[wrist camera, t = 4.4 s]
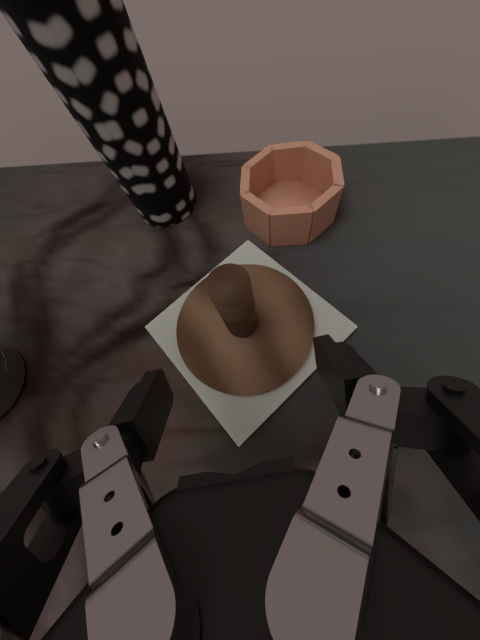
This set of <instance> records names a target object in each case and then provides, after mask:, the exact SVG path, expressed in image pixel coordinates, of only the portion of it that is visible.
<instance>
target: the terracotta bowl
mask: <svg viewBox="0 0 480 640" xmlns="http://www.w3.org/2000/svg"><path fill="white" fill-rule="evenodd" d="M343 188H344V179H343V173H342V166H341V159H340V157H339V155H337V154H335V153H333V152H331V151H329V150H327V149H325V148H323V147H321V146H319V145H317V144H315V143H313V142H310V141H308V142H307V141H299V142H290V143H282V144H273V145H270V146H267V147H266V148H265V149H263V150H262V151H261V152H260V153H258V154H257V155H256V156H254V157H253V158H252V159H250V160H249V161H248V162H247V163H245V164H244V165H243V167H242V169H241V185H240V198H241V204H242V210H243V216H244V222H245V227H246V229H248V230H249V231H250V232H252V233H253V234H254V235H256V236H257V237H258V238H260V239H261V240H262V241H263V242H265V243H266V244H267V245H269V246H270V245H271V247H273V246H292V245H307V243H308V244H310V243H311V242H312V241H313V240H314V239H315V238H316V237H317V236H319V235H320V234H321V233H322V232H323V231H324V230H325V229H326V228H327V227H329V226H330V225H331V224H332V223H333V221H334V218H335V215H336V212H337V208H338V205H339V202H340V198H341V195H342V191H343Z"/></svg>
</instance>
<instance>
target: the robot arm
mask: <svg viewBox="0 0 480 640" xmlns="http://www.w3.org/2000/svg"><path fill="white" fill-rule="evenodd" d="M313 344H314V352H315V361H316V367H317V370H318V373H319V375H320V377H321V379H322V381H323V383H324V384H325V386H326V388H327V390H328V392H329V394H330V395H331V397H332V399H333V401H334V403H335V405H336V406H337V408H338V410H339V412H340V414H341V415H339V417H338V419H337V421H336V423H335V426H334V428H333V431H332V433H331V436H330V438H329V441H328V443H327V446H326V448H325V451H324V453H323V456H322V458H321V461H320V463H319V466H318V468H317V471H316V472H315V471H312V470H309V469H306V468H301V467H294V464H293V460H292V457H288V458H283V459H277V460H271V461H266V462H262V463H260V464H258V465H255V466H253V467H251V468H249V469H246V470H244V471H242V472H240V473H237V474H223V473H213V472H203V473H197V474H192V475H186V476H180V477H179V481H178V486H177V488H175V489H174V490H172V491H170V492H168V493H167V494H166V495H164V496H163V497H161V498H160V499H159V500H158V501H157V502H156V501H155V499H154V497H153V494H152V492H151V490H150V487H149V485H148V483H147V480H146V478H145V476H144V473H143V471H142V470H141V466H142V463H143V462H148V461H153V460H154V458H155V455H156V452H157V449H158V446H159V443H160V440H161V437H162V434H163V431H164V428H165V425H166V422H167V419H168V416H169V413H170V410H171V407H172V404H173V393H172V390H171V388H170V386H169V383H168V381H167V379H166V376H165V374H164V372H163V370H162V369H157V370H152V371H147V372H146V373H145V374H144V376H143V378H142V379H141V381H140V383H137V384H136V385H135V386H134V387H133V388H132V389H131V390H130V391H129V393H128V394H127V396H126V398H125V399H124V401H123V402H122V406H120V407H119V409H118V411H117V412H116V414H115V415H114V417H113V419H112V420H111V422H110V424H109V425H108V426H106V427H103V428H101V429H99V430H97V431H96V432H94V433H93V434H91V435H90V436H89V437H88V438H87V439H86V440H85V442H84V443H83V445H82V447H81V449H80V450H77V451H75V452H73V453H70V454H68V455H66V456H64V457H63V455H62V454H61V453H60V451H59V450H58V449H50V450H47V451H45V452H43V453H41V454H39V455H37V456H36V457H34V458H33V459H32V460H30V461H29V462H28V463H27V464H26V465H25V466H24V467H23V468H22V469H21V470H20V472H19V473H18V474H17V475H16V477H15V478H14V479H13V480H12V481H11V483H10V484H9V485H8V486H7V488H6V489H5V490H4V491H3V493H2V494H1V495H0V640H29V638H30V636H31V634H32V632H33V630H34V627H35V625H36V623H37V621H38V619H39V616H40V614H41V612H42V610H43V608H44V606H45V603H46V601H47V599H48V597H49V595H50V593H51V590H52V588H53V586H54V584H55V582H56V579H57V577H58V575H59V573H60V571H61V569H62V566H63V564H64V562H65V560H66V558H67V555H68V553H69V551H70V549H71V547H72V545H73V542H74V540H75V538H76V536H77V534H78V532H79V529H80V527H81V525H82V524H83V533H84V542H85V551H86V560H87V569H88V578H89V582H88V583H87V584H86V586H85V587H84V588H83V589H82V590H81V592H80V593H79V594H78V595H77V597H76V598H75V599H74V600H73V601H72V603H71V604H70V605H69V606H68V607H67V609H66V610H65V611H64V612H63V613H62V615H61V616H60V617H59V618H58V619H57V621H56V622H55V623H54V624H53V626H52V627H51V628H50V629H49V630H48V632H47V633H46V634H45V635H44V636H43V638H42V639H41V640H480V601H479V600H478V599H476V598H475V597H474V596H473V595H472V594H470V593H469V592H468V591H467V590H465V589H464V588H463V587H462V586H460V585H459V584H458V583H457V582H455V581H454V580H453V579H452V578H451V577H449V576H448V575H447V574H446V573H444V572H443V571H442V570H441V569H439V568H438V567H437V566H436V565H435V564H433V563H432V562H431V561H430V560H428V559H427V558H426V557H425V556H423V555H422V554H421V553H420V552H418V551H417V550H416V549H415V548H414V547H412V546H411V545H410V544H409V543H407V542H406V541H405V540H404V539H402V538H401V537H400V536H399V535H397V534H396V533H395V532H394V531H393V530H391V529H390V528H389V527H388V524H389V516H390V507H391V495H392V486H393V479H394V472H395V465H396V458H397V451H398V447H406V448H414V449H423V450H426V451H427V452H428V454H429V455H430V456H431V458H432V459H433V460H434V462H435V463H436V464H437V466H438V467H439V468H440V470H441V471H442V472H443V474H444V475H445V476H446V478H447V479H448V480H449V482H450V483H451V484H452V486H453V487H454V488H455V490H456V491H457V492H458V494H459V495H460V496H461V498H462V499H463V500H464V502H465V503H466V504H467V506H468V507H469V508H470V510H471V511H472V512H473V513H474V515H475V516H476V517H477V519H478V520H479V521H480V388H479V387H477V386H476V385H475V384H473V383H471V382H469V381H467V380H464V379H461V378H458V377H453V376H437V377H433V378H431V379H430V380H429V381H428V382H427V388H412V387H401V386H399V384H398V383H397V382H396V381H394V380H393V379H391V378H389V377H386V376H382V375H378V374H377V373H376V372H375V371H374V370H373V369H372V368H371V367H370V366H369V365H368V364H367V363H366V361H365V360H364V359H363V358H361V356H360V355H359V354H358V353H357V352H356V351H355V350H354V349H353V347H352V346H350V345H348V344H346V343H344V342H342V341H341V342H335V341H334V340H333V339H332V337H331V336H330V335H329V334H326V335H322V336H317V337H313ZM24 378H25V365H24V362H23V359H22V357H21V356H20V354H19V353H17V352H16V351H15V350H12V349H10V348H6V347H2V346H0V418H1V417H2V416H3V415H4V414H5V413H6V412H7V411H8V410H9V409H10V408H11V407H12V405H13V404H14V402H15V401H16V399H17V397H18V395H19V393H20V391H21V389H22V386H23V383H24ZM40 507H41V508H42V510H43V511H44V512H45V513H46V514H47V515H46V517H45V519H44V520H43V522H42V524H41V525H40V527H39V529H38V530H37V532H36V534H35V535H34V537H33V539H32V540H31V542H30V544H29V546H28V547H27V548H26V547H25V545H24V541H23V539H24V534H25V531H26V529H27V527H28V525H29V524H30V522H31V521H32V519H33V517H34V516H35V514H36V513H37V511H38V510H39V508H40Z"/></svg>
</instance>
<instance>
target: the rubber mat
mask: <svg viewBox="0 0 480 640" xmlns="http://www.w3.org/2000/svg"><path fill="white" fill-rule="evenodd" d="M227 263H233V264H238V265H241V264H256V265H263V266H267V267H270V268H273V269H276V270H278V271H280V272H282V273H284V274H285V275H287V276H288V277H290V278H291V279H292V280H293V281H294V282H296V283H297V284H298V286H299V287H300V288H301V289H302V290H303V292H304V293H305V295H306V296H307V298H308V300H309V303H310V305H311V308H312V311H313V316H314V337H317V336H322V335H326V334H329V335H330V336H331V337H332V339H333V340H334V341H335V342H341V341H342V342H343V341H344V340H345V339H346V338H347V337H348V336H349V335H350V334H351V333H352V332H353V331H354V330H355V329H356V328H357V327H358V326H357V325H355V324H354V323H353V322H352V321H350V320H349V319H348V318H347V317H345V316H344V315H343V314H341V313H340V312H339V311H338V310H336V309H335V308H334V307H333V306H331V305H330V304H329V303H328V302H326V301H325V300H324V299H322V298H321V297H320V296H319V295H317V294H316V293H315V292H314V291H312V290H311V289H310V288H308V287H307V286H306V285H305V284H303V283H302V282H301V281H300V280H298V279H297V278H296V277H295V276H293V275H292V274H291V273H289V272H288V271H287V270H286V269H284V268H283V267H282V266H281V265H279V264H278V263H277V262H276V261H274V260H273V259H272V258H270V257H269V256H268V255H267V254H265V253H264V252H263V251H262V250H260V249H259V248H258V247H256V246H255V245H254V244H253V243H251V242H250V241H249V240H247V241H246V242H245V243H244V244H243V245H241V246H240V247H239V248H238V249H237V250H235V251H234V252H233V253H232V254H231V255H229V256H228V257H227V258H226V259H225V260H224V261H222V262H221V263H220V264H219V265H218V266H220V265H223V264H227ZM218 266H216V267H218ZM216 267H215V268H216ZM215 268H214V269H215ZM210 272H211V271H210ZM210 272H209V273H208V274H207V275H206V276H205V277H203V278H202V279H201V280H200V281H199V282H197V283H196V284H195V285H194V286H193V287H191V288H190V289H189V290H188V291H187V292H186V293H184V294H183V295H182V296H181V297H180V298H178V299H177V300H176V301H175V302H174V303H172V304H171V305H170V306H169V307H168V308H167V309H165V310H164V311H163V312H162V313H161V314H159V315H158V316H157V317H156V318H155V319H153V320H152V321H151V322H150V323H149V324H148V325H146V326H145V328H146V329H147V331H148V332H149V333H150V334H151V336H152V337H153V338H154V339H155V341H156V342H157V343H158V345H159V346H160V347H161V348H162V350H163V351H164V352H165V354H166V355H167V356H168V357H169V359H170V360H171V361H172V362H173V364H174V365H175V366H176V368H177V369H178V370H179V371H180V373H181V374H182V375H183V377H184V378H185V379H186V380H187V382H188V383H189V384H190V385H191V387H192V388H193V389H194V391H195V392H196V393H197V394H198V396H199V397H200V398H201V400H202V401H203V402H204V403H205V405H206V406H207V407H208V409H209V410H210V411H211V412H212V414H213V415H214V416H215V417H216V419H217V420H218V421H219V423H220V424H221V425H222V426H223V428H224V429H225V430H226V432H227V433H228V434H229V435H230V437H231V438H232V439H233V440H234V442H235V443H236V444H237V446H238V447H239V446H241V445H242V444H243V443H244V441H245V440H246V439H247V438H248V437H249V436H250V435H251V434H252V433H253V432H254V431H255V430H256V429H257V428H258V427H259V426H260V425H261V424H262V423H263V422H264V421H265V420H266V419H267V418H268V417H269V416H270V415H271V414H272V413H273V412H274V411H275V410H276V409H277V408H278V407H279V406H280V405H281V404H282V403H283V402H284V401H285V400H286V399H287V398H288V397H289V396H290V395H291V394H292V393H293V392H294V391H295V390H296V389H297V388H298V387H299V386H300V385H301V384H302V383H303V382H304V381H305V380H306V379H307V378H308V377H309V376H310V375H311V374H312V373H313V372H314V371H315V370H316V369H317V367H316V361H315V352H314V344H313V342H312V346H311V349H310V351H309V353H308V356H307V358H306V360H305V361H304V363H303V364H302V366H301V368H300V369H299V370H298V371H297V372H296V374H295V375H294V376H293V377H292V378H290V379H289V380H288V381H287V382H286V383H284V384H283V385H281V386H279V387H278V388H276V389H273V390H271V391H269V392H266V393H263V394H259V395H253V396H235V395H229V394H225V393H222V392H219V391H217V390H214V389H212V388H210V387H208V386H207V385H205V384H203V383H202V382H201V381H199V380H198V379H197V378H196V377H195V376H194V375H193V374H192V373H191V372H190V371H189V369H188V368H187V366H186V365H185V363H184V361H183V359H182V357H181V355H180V352H179V349H178V344H177V337H176V328H177V321H178V316H179V313H180V310H181V307H182V305H183V303H184V301H185V299H186V298H187V296H188V295H189V293H190V292H191V291H192V290H193V289H194V287H195V286H196V285H198V284H199V283H200V282H201V281H202V280H203V279H205V278H206V277H207V276H208V275H209V274H210Z"/></svg>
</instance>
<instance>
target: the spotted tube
mask: <svg viewBox="0 0 480 640" xmlns="http://www.w3.org/2000/svg"><path fill="white" fill-rule="evenodd" d="M0 11H1V13H2V14H3V15H4V17H5V18H6V20H7V21H8V23H9V24H10V25H11V27H12V28H13V30H14V31H15V33H16V34H17V36H18V37H19V39H20V40H21V42H22V43H23V44H24V46H25V47H26V49H27V50H28V52H29V53H30V55H31V56H32V58H33V59H34V60H35V62H36V64H37V65H38V66H39V68H40V69H41V71H42V72H43V74H44V75H45V77H46V78H47V80H48V81H49V82H50V84H51V85H52V87H53V88H54V90H55V91H56V93H57V94H58V96H59V97H60V98H61V100H62V101H63V103H64V104H65V106H66V107H67V109H68V110H69V112H70V113H71V115H72V116H73V117H74V119H75V120H76V122H77V123H78V125H79V126H80V128H81V129H82V131H83V132H84V133H85V135H86V136H87V138H88V139H89V141H90V142H91V144H92V145H93V147H94V148H95V150H96V151H97V152H98V154H99V155H100V157H101V158H102V160H103V161H104V163H105V164H106V166H107V167H108V168H109V170H110V171H111V173H112V174H113V176H114V177H115V179H116V180H117V182H118V183H119V185H120V186H121V187H122V189H123V190H124V192H125V193H126V195H127V196H128V198H129V199H130V201H131V202H132V203H133V205H134V206H135V208H136V209H137V211H138V212H139V214H140V215H141V217H142V218H143V220H144V221H145V222H146V223H148V224H149V225H151V226H154V227H169V226H172V225H175V224H178V223H179V222H181V221H183V220H184V219H185V218H187V217H188V216H189V215H190V213H191V212H192V211H193V209H194V207H195V203H196V196H195V193H194V191H193V188H192V185H191V183H190V180H189V177H188V175H187V172H186V169H185V167H184V164H183V161H182V159H181V156H180V153H179V151H178V148H177V145H176V143H175V140H174V137H173V134H172V132H171V129H170V127H169V124H168V121H167V118H166V116H165V113H164V110H163V108H162V105H161V102H160V99H159V97H158V94H157V92H156V89H155V86H154V83H153V81H152V78H151V75H150V73H149V70H148V67H147V65H146V62H145V59H144V57H143V54H142V51H141V49H140V46H139V43H138V41H137V38H136V35H135V33H134V30H133V27H132V24H131V22H130V19H129V16H128V14H127V11H126V8H125V6H124V3H123V0H0Z"/></svg>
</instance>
